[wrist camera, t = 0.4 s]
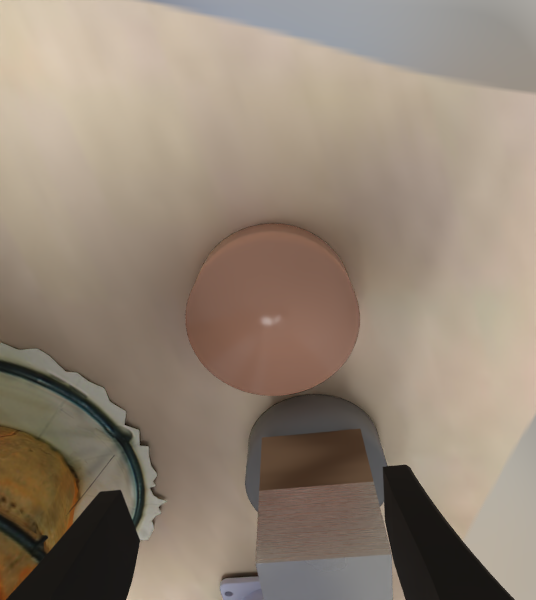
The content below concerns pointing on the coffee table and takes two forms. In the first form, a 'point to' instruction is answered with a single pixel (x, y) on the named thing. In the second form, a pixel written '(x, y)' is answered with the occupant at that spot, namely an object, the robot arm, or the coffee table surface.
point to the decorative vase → (60, 459)
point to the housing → (320, 520)
